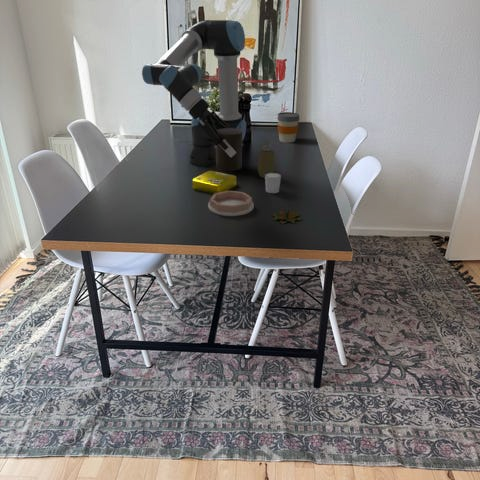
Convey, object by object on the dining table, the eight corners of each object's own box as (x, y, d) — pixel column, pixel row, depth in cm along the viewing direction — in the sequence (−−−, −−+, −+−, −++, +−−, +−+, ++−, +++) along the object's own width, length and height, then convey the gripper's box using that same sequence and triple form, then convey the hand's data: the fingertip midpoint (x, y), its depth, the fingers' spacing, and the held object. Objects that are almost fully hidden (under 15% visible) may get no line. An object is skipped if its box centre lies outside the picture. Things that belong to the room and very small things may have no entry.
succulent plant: (279, 228, 164) (280, 216, 162) (265, 215, 174) (265, 204, 172) (308, 222, 169) (309, 211, 167) (293, 210, 178) (293, 199, 176)
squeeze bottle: (273, 180, 207) (275, 141, 199) (255, 178, 208) (256, 139, 200) (275, 174, 214) (277, 136, 206) (258, 172, 215) (259, 135, 207)
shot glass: (282, 189, 197) (283, 173, 194) (278, 194, 192) (278, 178, 188) (266, 187, 199) (267, 171, 196) (262, 192, 194) (262, 176, 190)
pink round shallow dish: (215, 196, 189) (215, 188, 188) (257, 200, 186) (258, 192, 184) (202, 213, 174) (202, 204, 172) (248, 218, 170) (248, 209, 169)
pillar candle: (232, 173, 166) (233, 132, 159) (210, 167, 171) (210, 127, 164) (246, 166, 174) (247, 126, 167) (225, 161, 178) (225, 122, 171)
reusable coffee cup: (298, 143, 261) (300, 117, 254) (277, 143, 261) (278, 116, 254) (296, 137, 272) (298, 112, 265) (275, 137, 272) (277, 111, 265)
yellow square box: (238, 185, 202) (238, 174, 200) (219, 196, 191) (219, 185, 189) (209, 178, 209) (209, 168, 207) (190, 189, 197) (190, 178, 195)
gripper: (198, 105, 176) (237, 149, 180) (177, 118, 157) (222, 166, 161) (211, 92, 172) (250, 136, 176) (191, 103, 153) (236, 153, 157)
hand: (237, 151), depth 169 cm, fingers closed on pillar candle, 9 cm apart
